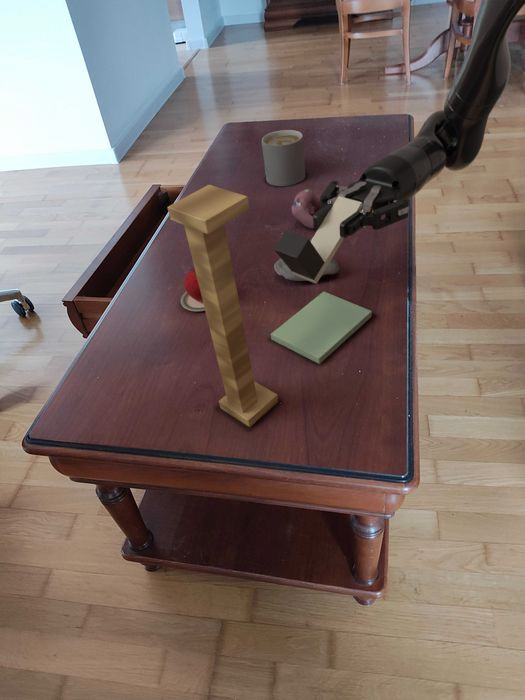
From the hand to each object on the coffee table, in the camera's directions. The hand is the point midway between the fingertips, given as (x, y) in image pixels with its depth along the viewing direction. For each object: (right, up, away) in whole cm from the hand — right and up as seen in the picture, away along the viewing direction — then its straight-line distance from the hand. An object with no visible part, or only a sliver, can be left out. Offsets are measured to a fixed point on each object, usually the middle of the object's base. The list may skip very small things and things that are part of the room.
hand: (328, 226), depth 71 cm
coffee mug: (-3, +28, +60) cm, 66 cm away
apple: (-20, -8, +24) cm, 32 cm away
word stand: (-11, -25, +3) cm, 27 cm away
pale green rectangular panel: (+1, -13, +14) cm, 19 cm away
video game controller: (+1, +12, +41) cm, 43 cm away
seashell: (-1, -3, +26) cm, 26 cm away
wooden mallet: (0, -2, +1) cm, 2 cm away
